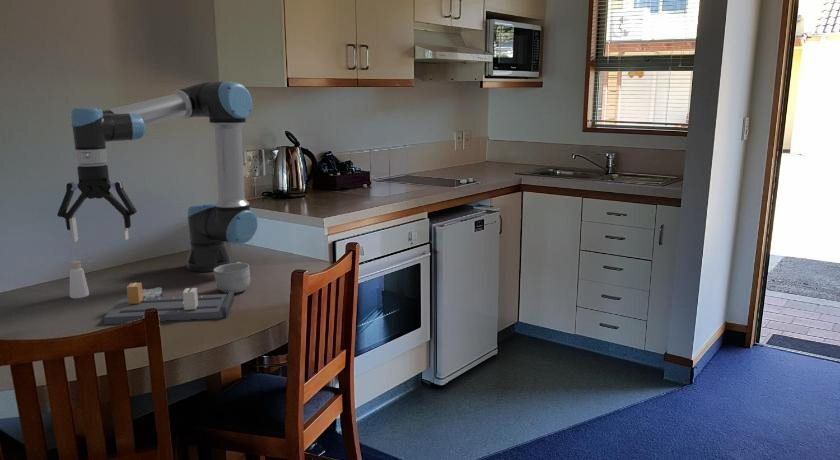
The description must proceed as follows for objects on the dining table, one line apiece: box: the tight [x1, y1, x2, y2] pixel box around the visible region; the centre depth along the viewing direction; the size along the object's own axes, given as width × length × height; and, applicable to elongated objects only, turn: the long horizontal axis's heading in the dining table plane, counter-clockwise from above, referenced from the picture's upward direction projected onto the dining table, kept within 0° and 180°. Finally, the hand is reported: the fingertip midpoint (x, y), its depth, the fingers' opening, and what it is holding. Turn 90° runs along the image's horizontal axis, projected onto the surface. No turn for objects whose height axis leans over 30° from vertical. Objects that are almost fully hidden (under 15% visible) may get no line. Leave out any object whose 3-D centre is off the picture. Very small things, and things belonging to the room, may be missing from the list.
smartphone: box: [142, 286, 164, 298], centre depth 197 cm, size 7×1×15 cm
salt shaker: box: [69, 260, 90, 299], centre depth 198 cm, size 5×5×11 cm
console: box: [103, 290, 235, 325], centre depth 184 cm, size 16×32×3 cm, turn 98°
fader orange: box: [126, 282, 143, 304], centre depth 185 cm, size 4×3×5 cm
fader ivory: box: [182, 287, 198, 310], centre depth 180 cm, size 4×3×5 cm
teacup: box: [213, 261, 251, 294], centre depth 204 cm, size 14×11×8 cm
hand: (100, 240), depth 181 cm, fingers open, 13 cm apart
